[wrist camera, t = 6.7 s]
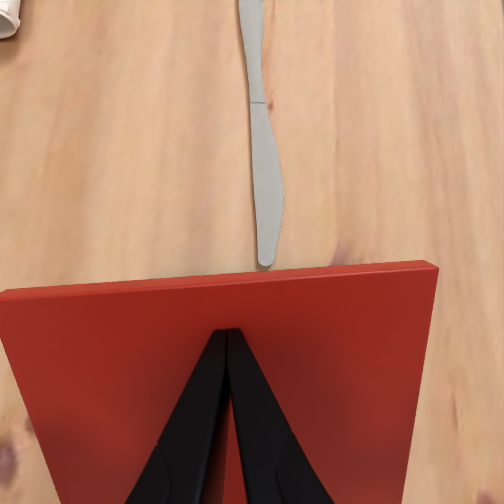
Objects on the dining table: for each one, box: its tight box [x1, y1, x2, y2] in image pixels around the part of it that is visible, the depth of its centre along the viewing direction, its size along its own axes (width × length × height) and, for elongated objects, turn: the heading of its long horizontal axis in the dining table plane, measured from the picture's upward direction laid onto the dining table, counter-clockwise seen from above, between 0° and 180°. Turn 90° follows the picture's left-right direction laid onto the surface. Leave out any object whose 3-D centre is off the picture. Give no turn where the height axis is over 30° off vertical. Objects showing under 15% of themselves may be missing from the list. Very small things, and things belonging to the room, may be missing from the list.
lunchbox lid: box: [0, 260, 439, 504], centre depth 11 cm, size 12×14×1 cm
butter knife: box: [239, 0, 284, 267], centre depth 23 cm, size 1×27×3 cm
